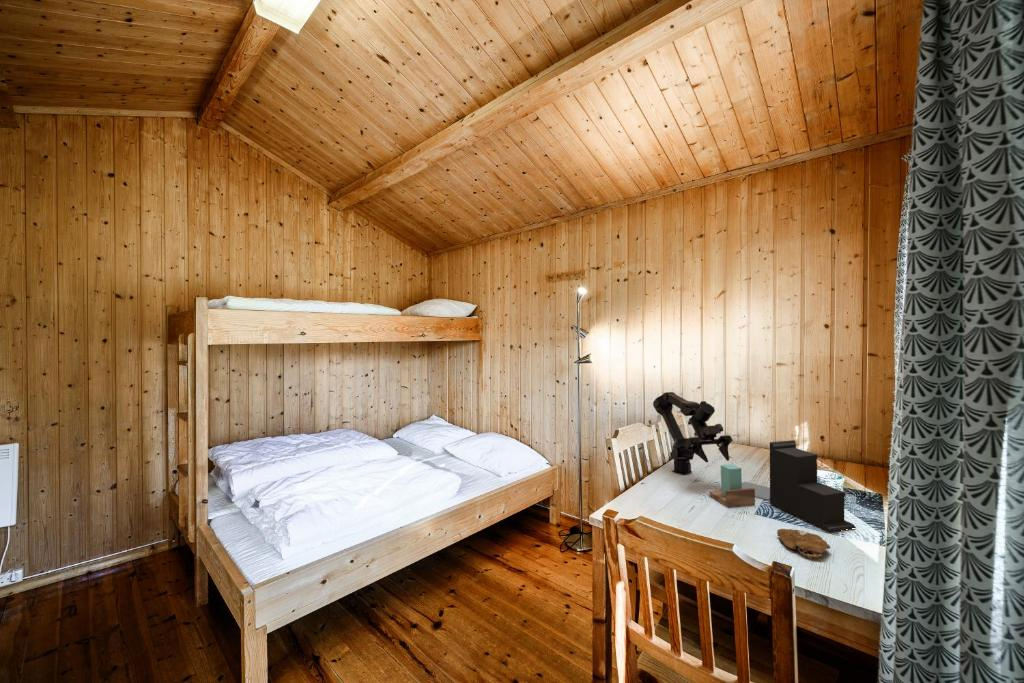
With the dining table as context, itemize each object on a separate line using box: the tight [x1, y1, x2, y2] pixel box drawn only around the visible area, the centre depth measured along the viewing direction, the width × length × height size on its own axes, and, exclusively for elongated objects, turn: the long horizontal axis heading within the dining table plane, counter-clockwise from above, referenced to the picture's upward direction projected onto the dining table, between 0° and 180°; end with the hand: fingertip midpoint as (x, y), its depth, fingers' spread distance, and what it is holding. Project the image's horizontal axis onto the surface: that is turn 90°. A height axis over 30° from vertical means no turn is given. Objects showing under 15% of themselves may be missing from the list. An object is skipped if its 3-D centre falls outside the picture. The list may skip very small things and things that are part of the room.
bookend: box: [769, 439, 857, 533], centre depth 142 cm, size 23×11×24 cm, turn 12°
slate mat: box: [742, 481, 770, 501], centre depth 166 cm, size 14×14×1 cm
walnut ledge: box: [709, 488, 756, 508], centre depth 157 cm, size 11×11×6 cm
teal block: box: [720, 464, 743, 496], centre depth 157 cm, size 5×5×11 cm
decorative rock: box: [776, 528, 831, 560], centre depth 122 cm, size 11×4×15 cm
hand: (717, 461), depth 165 cm, fingers open, 9 cm apart
